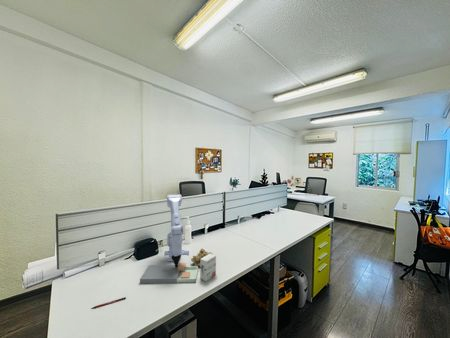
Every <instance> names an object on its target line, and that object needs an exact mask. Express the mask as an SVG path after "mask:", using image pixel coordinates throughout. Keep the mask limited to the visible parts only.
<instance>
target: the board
mask: <svg viewBox="0 0 450 338" xmlns="http://www.w3.org/2000/svg"><path fill="white" fill-rule="evenodd" d="M177 268H178V267H177ZM177 268H175V264H155V265H154V264H149V265H148V266H147V267H146V269H145V270H144V271H143V272H144V273H143V274H142V275H141V276H140V279H139V284H141V285H142V284H144V285H145V284H178V283H177V279H178V277H179V274H180V271H181V270H177Z"/></svg>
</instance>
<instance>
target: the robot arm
mask: <svg viewBox="0 0 450 338" xmlns="http://www.w3.org/2000/svg"><path fill="white" fill-rule="evenodd" d="M182 198H183V197H182V194H167V196H166V206H167V207H168V208H169V209H170V227H171V228H170V232H169V233H168V234H167V236H166V246H167V247H168V250H165V251H164V257H167V256H168V258H167V260H166V261H167V262H173V265H175V268H177V267H178V264H179V262H180V260H181V258H182V256H187V257H189V255H190V250H186V249H185V250H184V249H183V247H182V246H183V233H184V226H183V222H182V218H181V214H179V207H180V206H181V204H182V201H183V199H182Z"/></svg>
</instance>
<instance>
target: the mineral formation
mask: <svg viewBox="0 0 450 338" xmlns="http://www.w3.org/2000/svg"><path fill="white" fill-rule="evenodd" d="M210 253H211V254H213V252H210V251H209V252H208V251H206V250H205V249H204V248H200V250H199V252H198V253H197V255H193V256H192V258H190V261H191V262H192V263H193V264H194V266H198V267H200V259H201V258H203V257H205V256H206V255H208V254H210Z"/></svg>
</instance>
